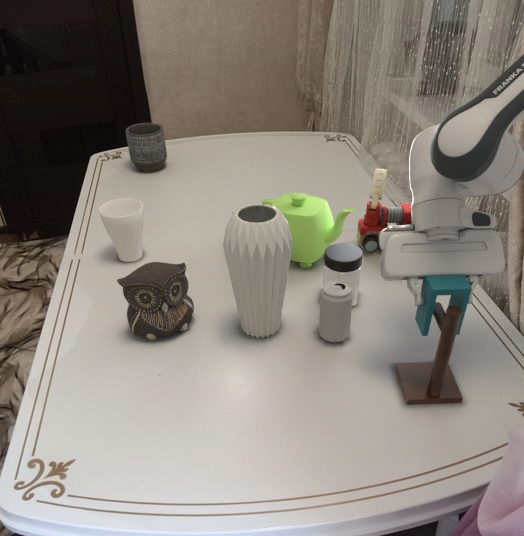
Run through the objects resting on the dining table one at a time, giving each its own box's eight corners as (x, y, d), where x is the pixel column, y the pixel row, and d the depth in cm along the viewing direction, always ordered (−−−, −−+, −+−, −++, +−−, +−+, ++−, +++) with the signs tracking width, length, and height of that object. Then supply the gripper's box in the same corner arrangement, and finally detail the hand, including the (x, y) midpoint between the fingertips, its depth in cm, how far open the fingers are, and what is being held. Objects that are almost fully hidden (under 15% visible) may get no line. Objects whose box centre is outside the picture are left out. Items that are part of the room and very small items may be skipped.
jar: (324, 285, 128) (326, 240, 120) (358, 288, 127) (364, 243, 119) (319, 307, 121) (322, 261, 113) (356, 311, 120) (361, 264, 112)
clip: (414, 318, 97) (424, 272, 91) (450, 317, 97) (462, 271, 91) (422, 336, 93) (432, 289, 87) (459, 335, 93) (472, 288, 87)
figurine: (135, 351, 111) (121, 291, 101) (121, 313, 121) (107, 255, 111) (203, 333, 115) (196, 273, 105) (184, 298, 125) (176, 240, 115)
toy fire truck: (420, 252, 139) (433, 185, 127) (359, 253, 139) (366, 187, 127) (410, 230, 147) (421, 166, 136) (353, 231, 147) (359, 168, 136)
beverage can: (355, 334, 114) (360, 286, 106) (335, 348, 111) (339, 300, 103) (332, 321, 117) (335, 274, 110) (311, 334, 114) (314, 287, 106)
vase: (285, 305, 122) (286, 194, 105) (296, 342, 112) (299, 227, 95) (226, 311, 121) (217, 200, 104) (232, 349, 111) (223, 234, 94)
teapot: (235, 270, 134) (231, 210, 124) (272, 231, 148) (271, 175, 138) (330, 294, 125) (335, 232, 115) (360, 250, 140) (366, 192, 129)
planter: (165, 174, 179) (159, 135, 171) (128, 174, 180) (121, 135, 171) (171, 160, 188) (166, 122, 180) (136, 160, 189) (129, 122, 180)
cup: (157, 259, 139) (149, 210, 130) (118, 271, 135) (107, 221, 126) (142, 242, 145) (133, 194, 137) (104, 253, 141) (92, 204, 133)
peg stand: (394, 367, 106) (410, 281, 93) (445, 365, 106) (469, 278, 93) (406, 404, 98) (425, 316, 85) (461, 402, 99) (489, 314, 85)
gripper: (382, 220, 89) (386, 303, 88) (506, 216, 89) (512, 299, 88) (373, 231, 95) (377, 309, 94) (489, 227, 96) (495, 305, 95)
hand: (443, 304), depth 91 cm, fingers closed on clip, 6 cm apart
